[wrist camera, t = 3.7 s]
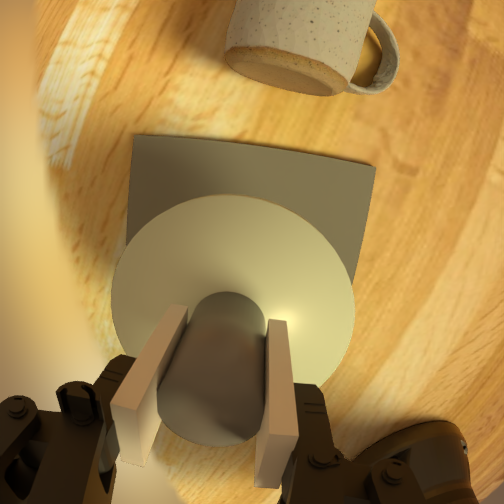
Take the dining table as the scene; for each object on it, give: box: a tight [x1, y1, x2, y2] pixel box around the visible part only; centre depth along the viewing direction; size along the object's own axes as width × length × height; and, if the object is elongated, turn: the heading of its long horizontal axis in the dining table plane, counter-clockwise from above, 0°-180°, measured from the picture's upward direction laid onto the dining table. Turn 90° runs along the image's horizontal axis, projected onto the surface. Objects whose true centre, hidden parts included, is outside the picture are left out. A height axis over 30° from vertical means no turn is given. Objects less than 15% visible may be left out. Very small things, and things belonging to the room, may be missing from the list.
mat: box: [126, 135, 376, 286], centre depth 22 cm, size 16×16×1 cm
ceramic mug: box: [224, 0, 400, 96], centre depth 14 cm, size 11×8×8 cm
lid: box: [111, 194, 355, 447], centre depth 13 cm, size 12×12×7 cm
